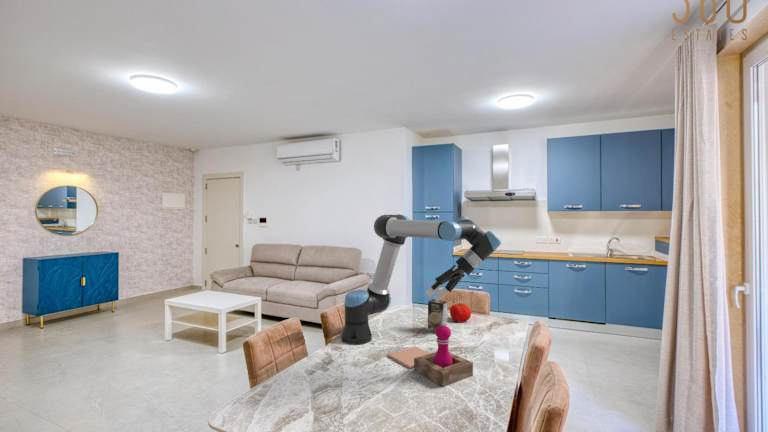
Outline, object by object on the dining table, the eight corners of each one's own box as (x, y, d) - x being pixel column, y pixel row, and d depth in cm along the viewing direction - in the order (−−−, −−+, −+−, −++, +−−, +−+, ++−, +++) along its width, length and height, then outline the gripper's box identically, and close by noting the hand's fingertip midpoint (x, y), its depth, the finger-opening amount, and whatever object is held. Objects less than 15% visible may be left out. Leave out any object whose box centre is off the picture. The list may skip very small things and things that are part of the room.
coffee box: (427, 331, 187) (427, 301, 188) (432, 328, 193) (432, 298, 193) (443, 334, 183) (443, 303, 183) (447, 331, 188) (447, 301, 188)
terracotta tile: (387, 356, 154) (387, 353, 154) (415, 348, 163) (415, 346, 163) (410, 369, 140) (410, 366, 140) (439, 359, 150) (439, 357, 150)
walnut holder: (414, 370, 139) (414, 358, 139) (442, 361, 148) (443, 349, 148) (443, 387, 126) (443, 373, 126) (472, 375, 135) (472, 362, 135)
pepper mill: (452, 378, 133) (452, 325, 133) (433, 376, 134) (433, 324, 134) (452, 370, 140) (452, 319, 140) (434, 368, 141) (434, 318, 141)
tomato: (453, 316, 215) (453, 300, 215) (473, 320, 207) (473, 303, 207) (445, 321, 206) (445, 303, 206) (466, 325, 198) (466, 307, 198)
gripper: (470, 261, 132) (429, 299, 133) (479, 274, 154) (444, 307, 155) (456, 248, 136) (416, 285, 137) (467, 262, 158) (433, 294, 159)
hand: (431, 297), depth 146 cm, fingers open, 13 cm apart
